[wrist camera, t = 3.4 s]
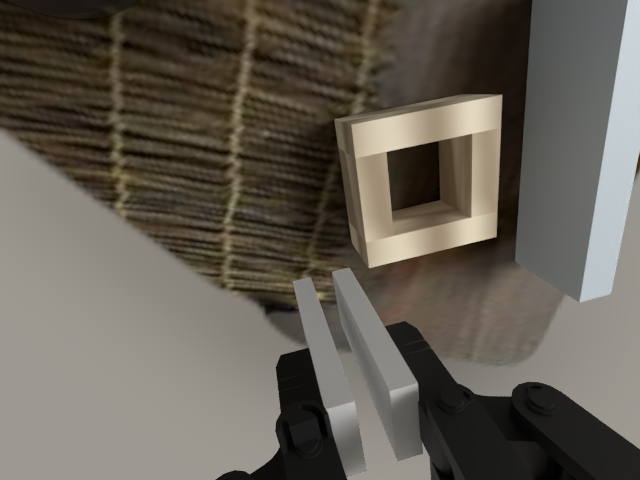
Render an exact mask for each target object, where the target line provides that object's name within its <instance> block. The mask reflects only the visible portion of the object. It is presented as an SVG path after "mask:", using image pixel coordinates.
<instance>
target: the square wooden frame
mask: <svg viewBox="0 0 640 480" xmlns="http://www.w3.org/2000/svg"><path fill="white" fill-rule="evenodd" d="M501 116H502V95H490V94H461V95H456V96H451V97H446V98H441V99H436V100H430V101H425V102H420V103H415V104H410V105H405V106H400V107H395V108H390V109H385V110H379V111H374V112H369V113H364V114H359V115H354V116H349V117H344V118H339V119H334V121H335V128H336V135H337V142H338V149H339V156H340V163H341V170H342V177H343V184H344V191H345V198H346V205H347V212H348V219H349V226H350V234H351V241H352V244H353V246H354V247H355V249H356V250H357V252H358V253H359V254H360V256H361V257H362V259H363V260H364V262H365V263H366V264H367V266H368V267H369V268H372V267H376V266H380V265H384V264H388V263H392V262H396V261H400V260H404V259H408V258H412V257H416V256H421V255H425V254H429V253H433V252H437V251H441V250H445V249H449V248H453V247H457V246H461V245H465V244H469V243H473V242H477V241H481V240H486V239H490V238H494V237H496V235H497V211H498V187H499V163H500V139H501ZM436 141H439V175H440V200H439V201H434V202H430V203H425V204H421V205H417V206H412V207H408V208H404V209H399V210H395V211H392V210H391V199H390V187H389V176H388V165H387V153H386V152H388V151H393V150H397V149H402V148H407V147H412V146H416V145H421V144H426V143H431V142H436Z"/></svg>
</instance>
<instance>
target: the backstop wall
mask: <svg viewBox="0 0 640 480" xmlns="http://www.w3.org/2000/svg"><path fill="white" fill-rule="evenodd" d="M639 151H640V0H532V13H531V28H530V42H529V57H528V72H527V87H526V102H525V117H524V132H523V147H522V162H521V177H520V192H519V206H518V221H517V236H516V251H515V262H516V263H518V264H519V265H521V266H523V267H524V268H526V269H527V270H529V271H531V272H532V273H534V274H535V275H537V276H538V277H540V278H542V279H543V280H545V281H546V282H548V283H550V284H551V285H553V286H554V287H556V288H557V289H559V290H561V291H562V292H564V293H565V294H567V295H569V296H570V297H572V298H573V299H575V300H577V301H579V302H583V301H586V300H590V299H594V298H598V297H601V296H605V295H608V294H611V290H612V285H613V280H614V275H615V271H616V265H617V261H618V256H619V251H620V246H621V240H622V235H623V231H624V226H625V221H626V216H627V211H628V206H629V201H630V196H631V191H632V186H633V181H634V176H635V171H636V166H637V161H638V156H639Z"/></svg>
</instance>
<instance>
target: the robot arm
mask: <svg viewBox="0 0 640 480" xmlns="http://www.w3.org/2000/svg"><path fill="white" fill-rule="evenodd" d="M6 1H8V2H10V3H13V4H16V5H18V6H21V7H23V8H26V9H29V10H32V11H35V12H37V13H41V14H45V15H48V16H53V17H58V18H66V19H94V18H100V17H105V16H109V15H112V14H115V13H118V12H120V11H123V10H125V9H127V8H129V7H131V6H132V5H134V4H136V3H137V2H139V1H140V0H6ZM332 275H333V280H334V286H335V292H336V297H337V303H338V309H339V315H340V320H341V325H342V327H343V330H344V332H345V335H346V337H347V339H348V342H349V344H350V347H351V349H352V352H353V354H354V356H355V359H356V361H357V364H358V366H359V368H360V371H361V373H362V376H363V378H364V381H365V383H366V385H367V388H368V390H369V393H370V395H371V397H372V400H373V402H374V405H375V407H376V409H377V412H378V415H379V417H380V419H381V422H382V424H383V427H384V429H385V431H386V433H387V436H388V439H389V441H390V443H391V446H392V448H393V451H394V453H395V455H396V458H397V460H398V461H400V460H403V459H406V458H410V457H412V456H416V455H419V454H422V453H423V448H422V442H423V444H424V446H425V448H426V450H427V452H428V454H429V456H430V470H431V480H640V449H639V448H637V447H636V446H634V445H633V444H632V443H630V442H629V441H627V440H626V439H625V438H623V437H622V436H621V435H619V434H618V433H616V432H615V431H614V430H612V429H611V428H610V427H608V426H607V425H606V424H604V423H602V422H601V421H600V420H598V419H597V418H596V417H595V416H593V415H592V414H590V413H589V412H588V411H586V410H585V409H584V408H582V407H581V406H579V405H578V404H577V403H575V402H574V401H573V400H571V399H570V398H569V397H567V396H566V395H564V394H563V393H562V392H560V391H558V390H557V389H555V388H553V387H551V386H549V385H546V384H542V383H538V382H526V383H522V384H519V385H518V386H517V387H515V388H514V389H513V392H512V396H511V397H497V396H496V397H495V396H494V397H493V396H481V395H477V394H474V393H473V392H472V391H471V390H470V389H468V388H466V387H464V386H463V385H460V384H457V382H456V381H455V380H454V379H453V378H452V377H451V375H450V373H449V372H448V371H447V370H446V368H445V367H444V365H443V364H442V362H441V361H440V360H439V358H438V357H437V356H436V354H435V353H434V351H433V350H432V349H431V348H430V346H429V344H428V343H427V342H426V341H425V340H424V338H423V336H422V335H421V333H420V332H419V331H418V329H417V328H415V327H414V326H412V325H410V324H409V323H407V322H406V321H404V322H400V323H396V324H392V325H389V326H385V327H384V325H383V323H382V322H381V320H380V318H379V317H378V315H377V313H376V311H375V310H374V308H373V306H372V305H371V303H370V301H369V300H368V298H367V296H366V295H365V293H364V291H363V290H362V288H361V286H360V284H359V283H358V281H357V279H356V278H355V276H354V274H353V273H352V271H351V269H350V268H345V269H341V270H337V271H333V272H332ZM293 285H294V289H295V293H296V298H297V302H298V306H299V311H300V315H301V319H302V324H303V328H304V333H305V337H306V341H307V345H308V348H306V349H302V350H298V351H295V352H291V353H288V354H283V355H281V356H280V358H279V361H278V363H277V366H276V372H277V381H278V390H279V400H280V409H281V414H280V416H279V418H278V419H277V422H276V434H277V438H278V441H279V444H280V448H279V450H278V451H277V453H276V454H275V455H274V457H273V458H272V459H271V460H270V461H269V462H267V463H266V464H265V465H264V466H262V467H261V468H259V469H257V470H256V471H255V472H253V473H251V474H248V473H246V472H245V471H236V470H235V471H231V472H228V473H225V474H223V475H222V476H220V477H219V478H217V479H216V480H347V478H346V477H348V476H352V475H355V474H358V473H362V472H365V471H367V470H366V464H365V459H364V453H363V447H362V441H361V436H360V430H359V424H358V419H357V413H356V407H355V401H354V398H353V396H352V393H351V390H350V387H349V384H348V381H347V379H346V376H345V373H344V370H343V368H342V365H341V362H340V359H339V356H338V353H337V350H336V348H335V345H334V342H333V339H332V336H331V333H330V331H329V328H328V325H327V322H326V319H325V316H324V314H323V311H322V308H321V305H320V302H319V299H318V297H317V294H316V291H315V288H314V285H313V282H312V280H311V277H308V278H304V279H300V280H296V281H293Z"/></svg>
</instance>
